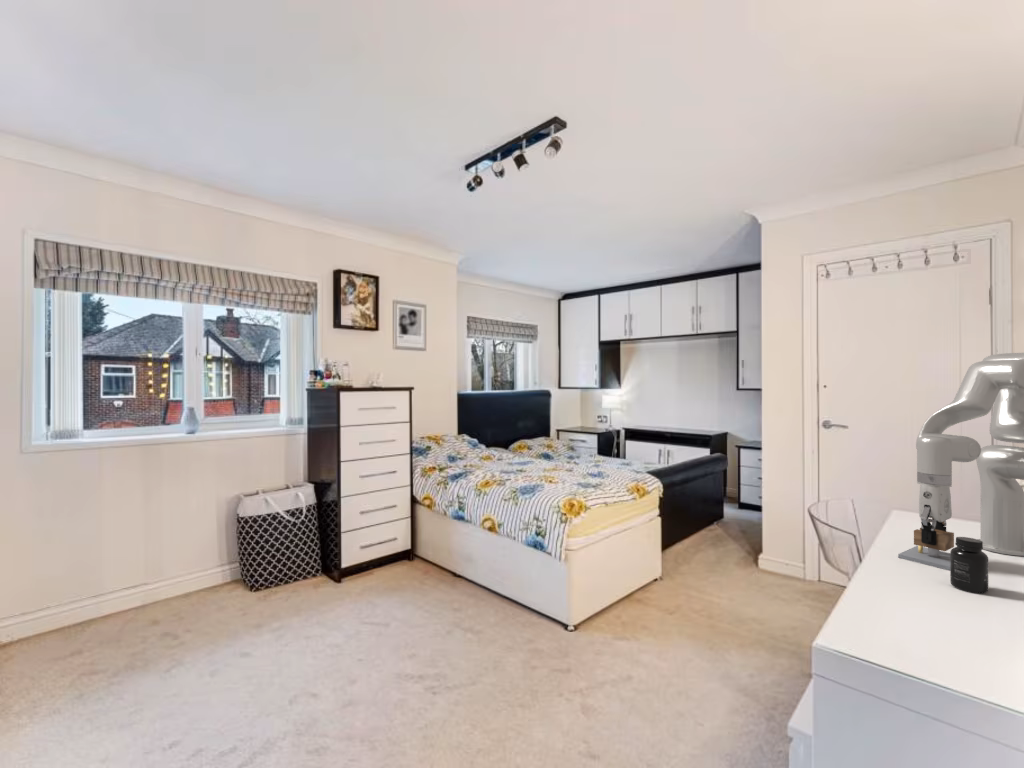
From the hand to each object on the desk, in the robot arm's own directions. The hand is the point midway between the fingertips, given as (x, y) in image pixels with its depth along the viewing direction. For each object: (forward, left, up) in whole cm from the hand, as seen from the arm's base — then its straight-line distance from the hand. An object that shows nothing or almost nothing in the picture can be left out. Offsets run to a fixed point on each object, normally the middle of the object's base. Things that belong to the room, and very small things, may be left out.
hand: (933, 541), depth 138 cm
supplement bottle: (+18, +12, -5) cm, 22 cm away
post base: (0, 0, -5) cm, 5 cm away
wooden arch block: (0, 0, -1) cm, 1 cm away
